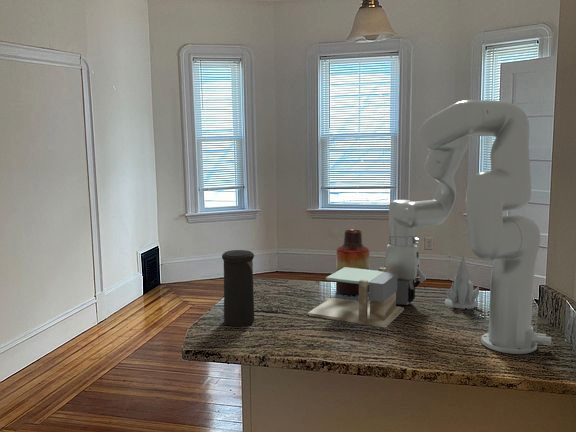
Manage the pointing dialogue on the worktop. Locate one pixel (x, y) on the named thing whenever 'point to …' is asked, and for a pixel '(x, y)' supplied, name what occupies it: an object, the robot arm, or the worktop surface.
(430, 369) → the worktop surface
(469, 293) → the crystal
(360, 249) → the vase
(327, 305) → the frame
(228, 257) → the container
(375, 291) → the trapdoor
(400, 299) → the basalt block
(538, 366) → the worktop surface
